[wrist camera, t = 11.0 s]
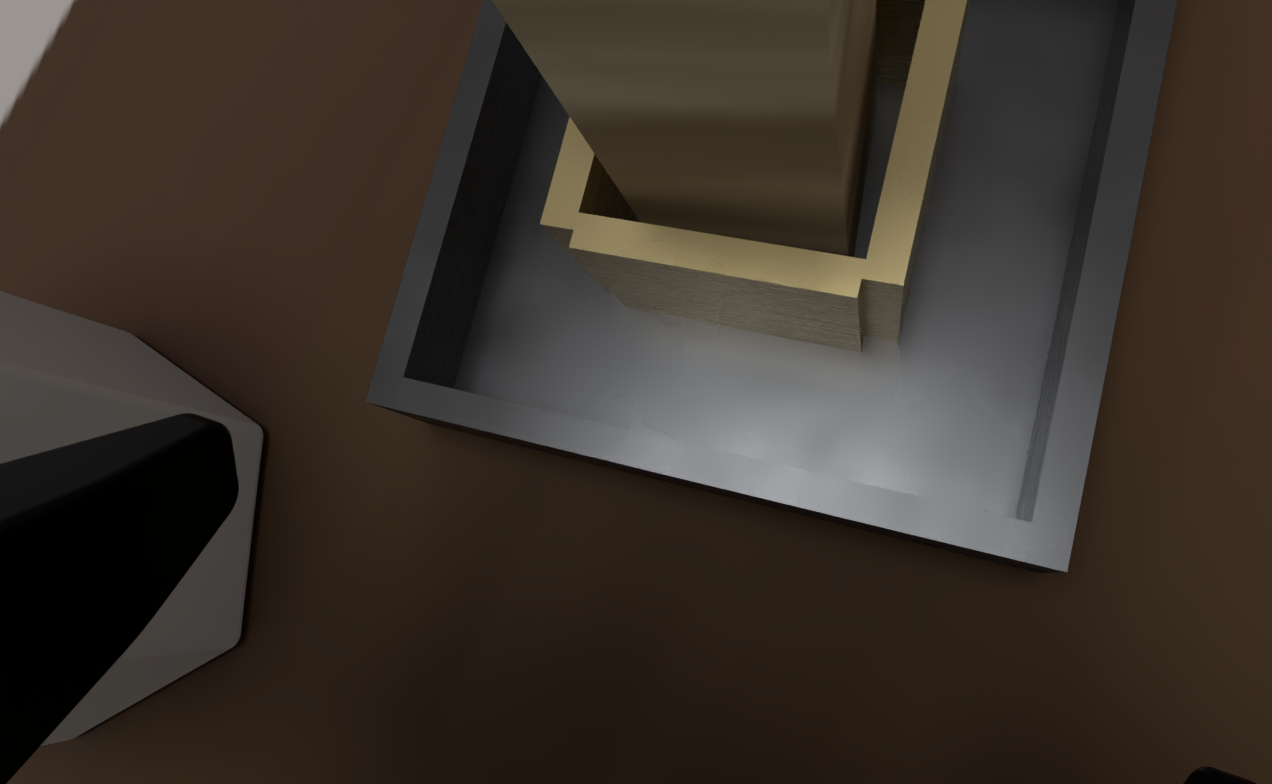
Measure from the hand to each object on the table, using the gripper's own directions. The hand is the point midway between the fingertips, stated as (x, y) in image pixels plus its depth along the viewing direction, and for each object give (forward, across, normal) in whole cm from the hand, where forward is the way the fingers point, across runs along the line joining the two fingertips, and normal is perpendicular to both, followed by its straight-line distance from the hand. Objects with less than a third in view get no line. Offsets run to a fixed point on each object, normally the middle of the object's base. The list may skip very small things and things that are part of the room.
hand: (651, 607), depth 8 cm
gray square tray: (+12, +1, 0) cm, 12 cm away
